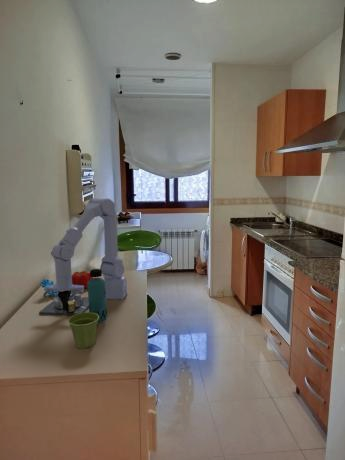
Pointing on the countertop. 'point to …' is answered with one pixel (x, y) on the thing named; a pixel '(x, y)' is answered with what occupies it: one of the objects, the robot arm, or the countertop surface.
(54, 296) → the gear
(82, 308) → the flange plate
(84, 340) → the plant pot
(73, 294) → the housing
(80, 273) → the tomato
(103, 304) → the beverage bottle
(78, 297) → the grey block ring
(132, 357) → the countertop surface
